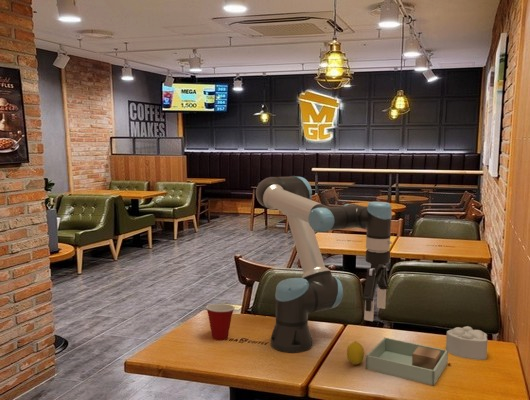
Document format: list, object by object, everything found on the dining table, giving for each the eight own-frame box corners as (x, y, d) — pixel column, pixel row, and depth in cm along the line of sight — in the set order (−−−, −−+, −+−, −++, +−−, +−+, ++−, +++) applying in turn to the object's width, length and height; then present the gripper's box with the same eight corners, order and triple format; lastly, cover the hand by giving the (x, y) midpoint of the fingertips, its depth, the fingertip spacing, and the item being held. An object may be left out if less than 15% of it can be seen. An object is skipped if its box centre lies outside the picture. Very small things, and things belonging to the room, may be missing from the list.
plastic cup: (240, 335, 188) (240, 304, 187) (223, 344, 179) (223, 312, 178) (218, 329, 194) (217, 300, 192) (200, 338, 185) (199, 307, 183)
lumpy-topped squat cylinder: (486, 363, 164) (488, 337, 163) (445, 356, 169) (446, 332, 168) (485, 351, 174) (487, 327, 173) (446, 345, 179) (447, 322, 178)
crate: (365, 370, 158) (366, 355, 158) (384, 351, 173) (384, 337, 173) (433, 387, 147) (434, 371, 146) (447, 365, 162) (447, 350, 162)
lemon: (363, 369, 159) (364, 345, 158) (346, 368, 160) (346, 344, 159) (363, 362, 164) (364, 339, 164) (346, 360, 165) (347, 337, 165)
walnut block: (411, 372, 156) (412, 353, 155) (417, 363, 162) (418, 346, 161) (434, 377, 152) (435, 358, 152) (439, 369, 158) (440, 350, 157)
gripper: (378, 259, 147) (375, 328, 149) (399, 244, 168) (396, 305, 171) (353, 256, 150) (351, 323, 153) (377, 242, 172) (375, 301, 174)
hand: (375, 313), depth 162 cm, fingers open, 13 cm apart
